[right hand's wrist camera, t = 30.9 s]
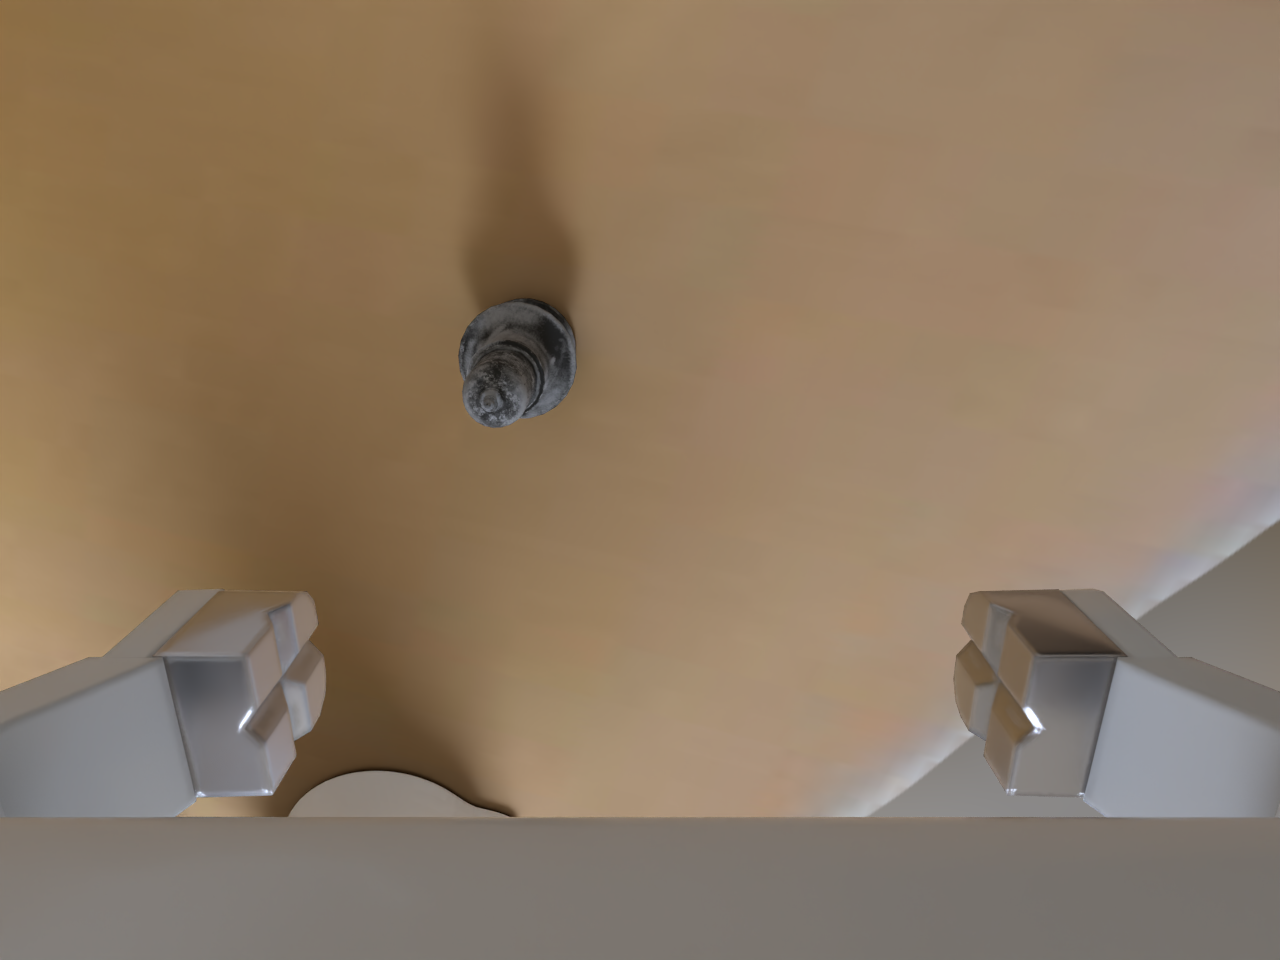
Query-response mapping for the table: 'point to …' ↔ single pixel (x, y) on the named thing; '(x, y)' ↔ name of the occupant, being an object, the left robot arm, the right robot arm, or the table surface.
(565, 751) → the table surface
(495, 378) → the grey chess piece
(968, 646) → the right robot arm
